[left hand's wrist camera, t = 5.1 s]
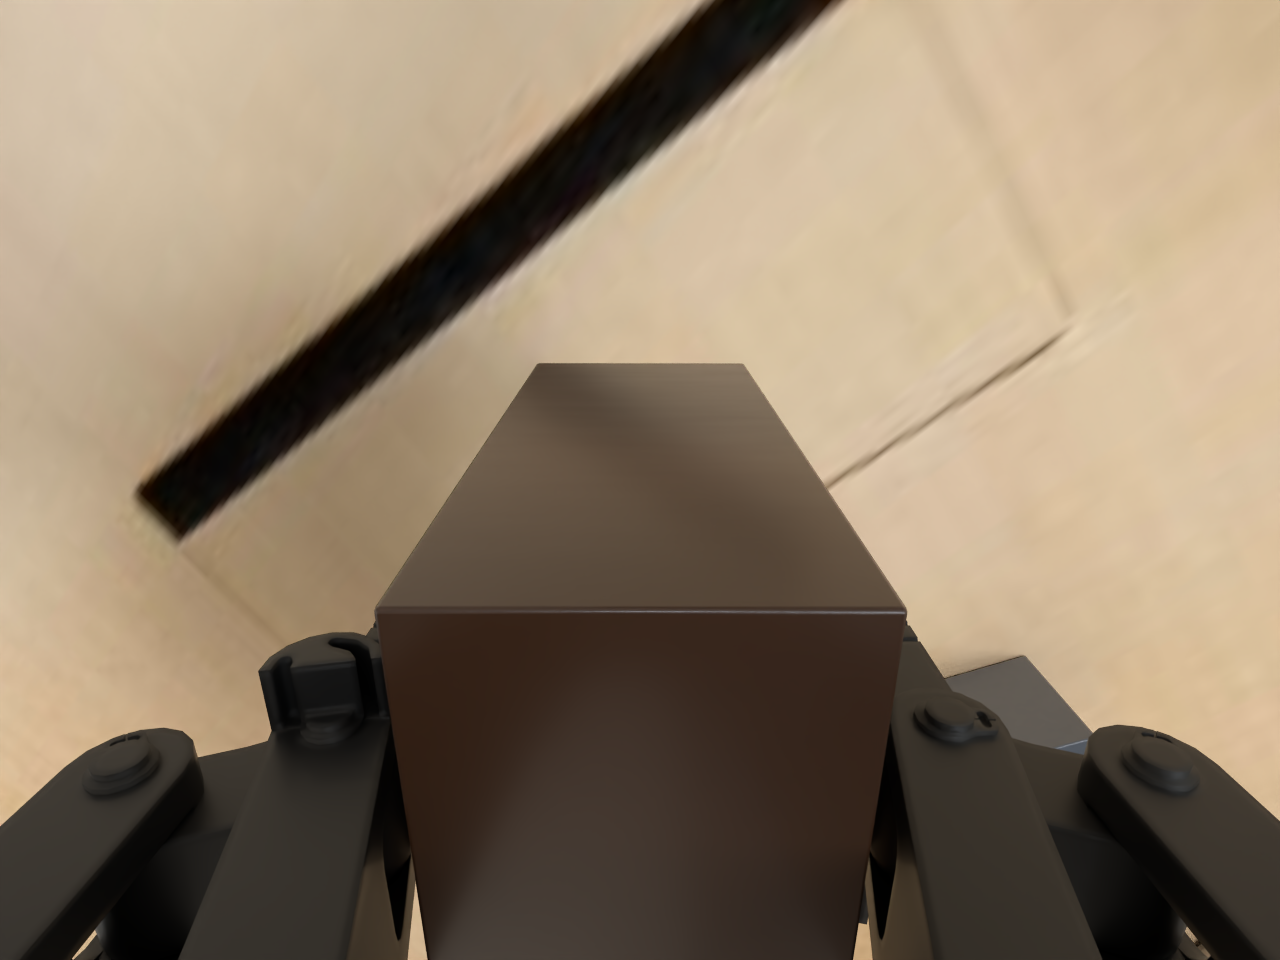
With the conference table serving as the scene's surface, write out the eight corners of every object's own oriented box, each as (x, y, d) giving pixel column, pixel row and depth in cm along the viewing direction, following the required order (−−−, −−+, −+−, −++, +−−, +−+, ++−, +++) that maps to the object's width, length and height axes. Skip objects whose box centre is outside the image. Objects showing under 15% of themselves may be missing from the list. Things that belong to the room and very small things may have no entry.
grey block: (931, 681, 30) (984, 767, 26) (1025, 654, 30) (1097, 736, 25) (949, 752, 32) (1003, 846, 27) (1039, 727, 31) (1111, 818, 26)
